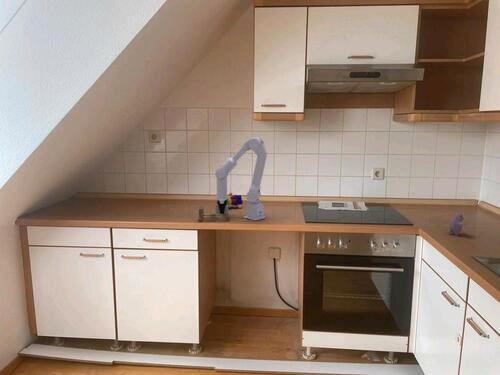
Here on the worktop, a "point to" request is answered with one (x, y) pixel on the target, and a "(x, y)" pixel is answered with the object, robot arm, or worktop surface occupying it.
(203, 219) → the sill track
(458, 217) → the figurine
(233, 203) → the toy
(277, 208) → the worktop surface
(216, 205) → the grey rectangular block
